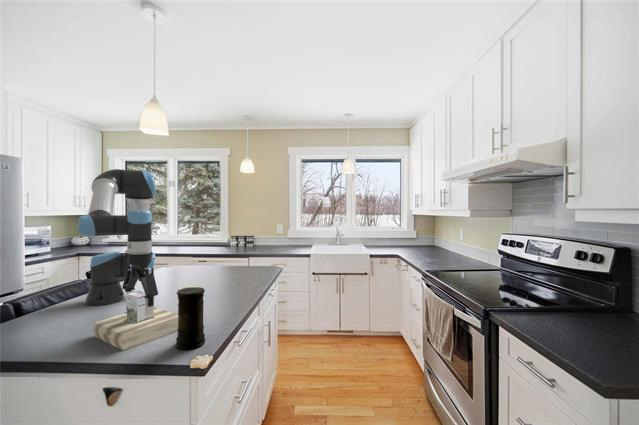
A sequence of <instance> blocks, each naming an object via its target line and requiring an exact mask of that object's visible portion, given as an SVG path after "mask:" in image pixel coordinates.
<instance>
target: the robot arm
mask: <svg viewBox="0 0 639 425" xmlns="http://www.w3.org/2000/svg"><path fill="white" fill-rule="evenodd" d="M91 191H92V196H91V200H90V205H89V209H88V213H87V214H86V215H85V214H84V215H80V216H79V217H78V222H77V230H78V235H80V236H83V237H103V236H127V244H126V250H125V251H124V253H125V254H121V252H120V251H112V252H111V251H110V252H105V253H100V254H97V255H94V256H92V257H91V259H90V266H89V268H90V286H89V290H88V292H87V294H86V298H85V304H86V306H87V305H88V306H104V305H110V304H114V303H119V302H120V301H123V300H124V299H125V310H126V311H127V294H129V293H132V292H136V291H135V290H136V289H135V287H136V285H137V282H138V281H139V282H140V283H141V286H142V289H143V291H145V294H146V296H145V297H144V298H145V317H147V316H150V315H153V314H154V307H155V296H158V295H159V291H158V286H157V282H156V279H155V273H154V272H155V271H154V268H155V258H156V253H155V252H153V249H152V248H153V240H152V239H153V238H152V233H153V232H152V230H153V229H152V228H153V215H152V211H150V201H151V200H153V197H154V196H156V195H157V188H156V181H155V176H154V173H153V172H151V171H148V170H147V171H146V170H134V169H118V168H116V169H113V168H112V169H108V170H106V171H103V172H101V173H100V174H98V175H97V176H96V177H95V178H94V179H93V181H92V184H91ZM117 194H120V195H125V196H124V197H125V199H126V200H127V202H128V211H127V214H126V215H124V214H122V215H118V214H117V215H115V214H113V213H114V207H115V206H114V204H115V195H117ZM121 279H123V283H122V285H121ZM124 292H125V293H124Z"/></svg>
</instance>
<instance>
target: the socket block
mask: <svg viewBox="0 0 639 425" xmlns="http://www.w3.org/2000/svg"><path fill="white" fill-rule="evenodd" d="M93 326H94V332H93V334H94V336H93V337H95V338H97V339H99V340H101V341H103V342H105V343H106V344H109V345H110V346H113V347H115V348H117V349H119V350H121V351H126V350H129V349H131V348H134V347H137V346H139V345H142V344H144V343H148V342H150V341H152V340H153V341H154V340H156V339H158V338H161V337H163V336H166V335H169V334H173V333H174V332H178V331H177V329H178V313H175V312H172V311H168V310H165V309H161V308H158V307H156V306H154V314H153V315H151V319H149V320H146V321H143V322H140V323H136V324H132V323H129V322H127V313H126V314H124V313H122V314H119V315H115V316H112V317H108V318H105V319H104V318H103V319H101V320H100V319H99V320H96V321H94V324H93Z"/></svg>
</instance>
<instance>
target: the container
mask: <svg viewBox="0 0 639 425" xmlns="http://www.w3.org/2000/svg"><path fill="white" fill-rule="evenodd" d="M205 291H206V290H205V288H203V287H201V288H200V287H190V288H184V289H180V290H178V289H177V292H176V295H177V301H179V303H177V306H178V307H177V314H178V329H177V331H176V332H177V337H176V338H175V339H176V340H175V341H176V343H175V347H176V349H177V350H180V351H191V350H196V349H199V348H200V347H202V346H204V344H205V342H206V338H205V337H206V336H205V335H206V334H205V332H204V331H205V330H204V329H205V326H204V303H205V301H204V296H205Z"/></svg>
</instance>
